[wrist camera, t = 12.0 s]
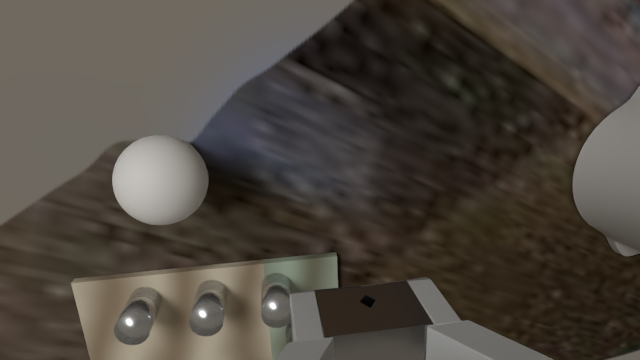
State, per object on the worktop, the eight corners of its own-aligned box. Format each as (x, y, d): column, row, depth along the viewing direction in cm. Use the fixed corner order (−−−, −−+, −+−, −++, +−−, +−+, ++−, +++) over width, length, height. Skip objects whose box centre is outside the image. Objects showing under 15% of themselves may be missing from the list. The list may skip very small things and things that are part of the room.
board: (335, 252, 41) (337, 256, 41) (340, 384, 46) (341, 390, 46) (74, 278, 39) (71, 283, 38) (109, 415, 44) (106, 422, 43)
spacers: (289, 271, 40) (293, 298, 36) (297, 387, 45) (301, 423, 40) (92, 292, 38) (71, 322, 34) (121, 411, 43) (105, 452, 38)
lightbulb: (232, 162, 37) (222, 207, 27) (174, 198, 38) (142, 257, 27) (190, 102, 35) (161, 126, 25) (129, 141, 36) (75, 181, 25)
